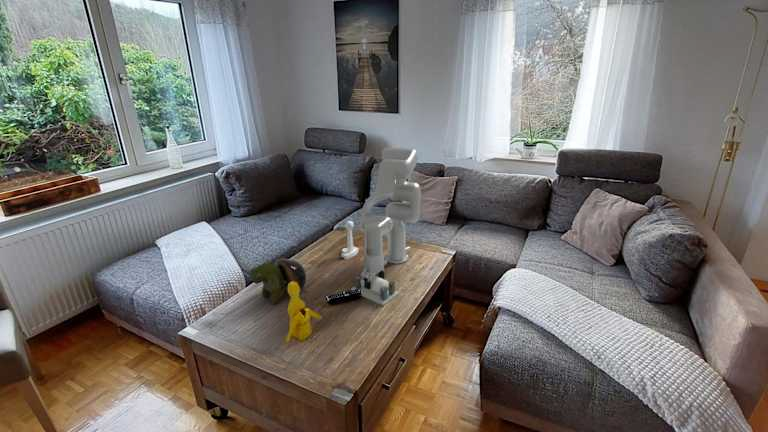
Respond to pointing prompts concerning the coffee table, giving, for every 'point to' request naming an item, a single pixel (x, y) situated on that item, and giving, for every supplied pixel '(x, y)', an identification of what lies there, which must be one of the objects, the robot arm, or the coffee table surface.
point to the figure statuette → (299, 314)
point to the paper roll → (376, 284)
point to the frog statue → (279, 277)
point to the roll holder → (378, 298)
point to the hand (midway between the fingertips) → (374, 283)
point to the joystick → (349, 243)
